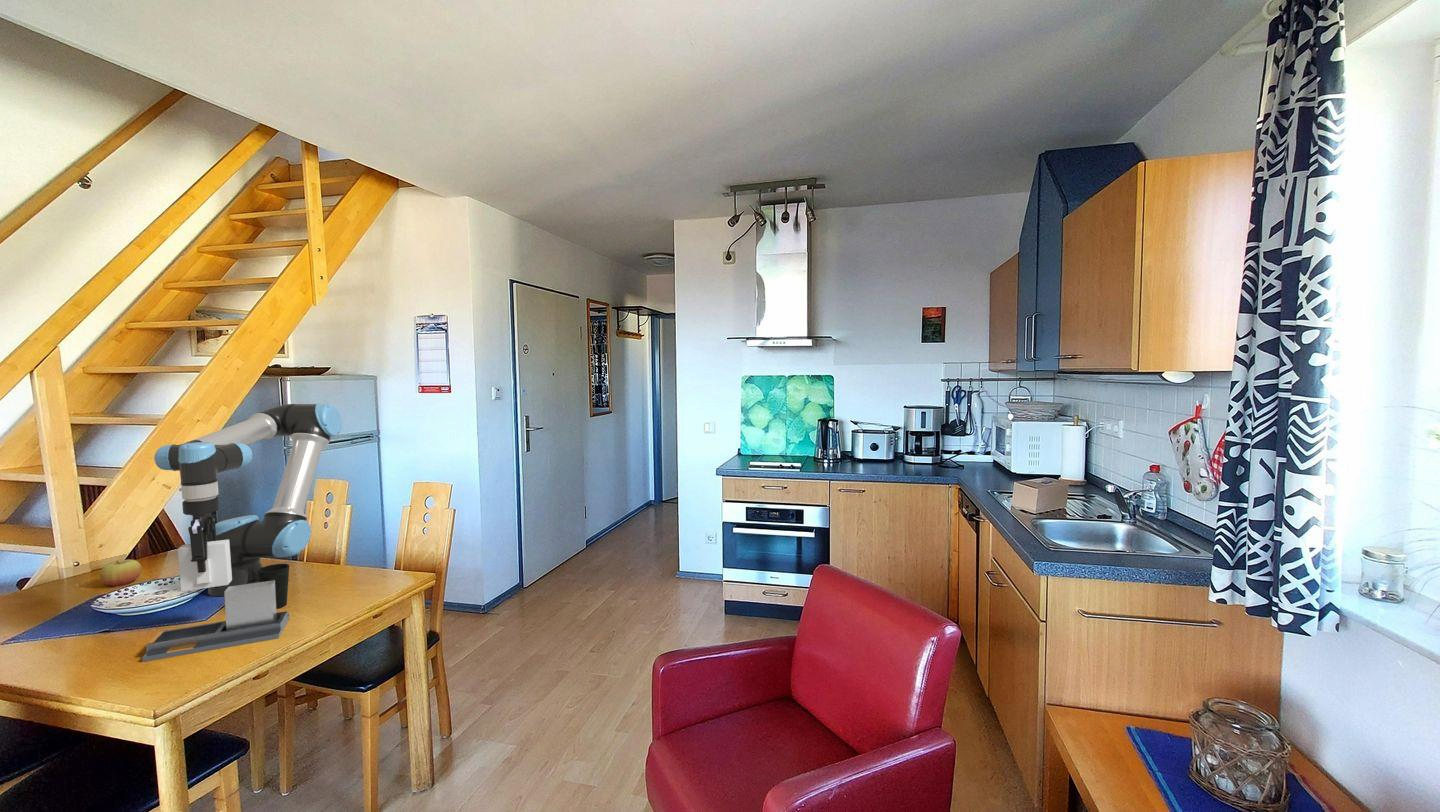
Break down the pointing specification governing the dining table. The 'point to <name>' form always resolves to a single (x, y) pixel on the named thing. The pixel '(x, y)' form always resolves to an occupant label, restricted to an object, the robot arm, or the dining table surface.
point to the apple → (120, 572)
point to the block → (217, 559)
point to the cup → (276, 581)
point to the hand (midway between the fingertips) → (206, 579)
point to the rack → (226, 624)
